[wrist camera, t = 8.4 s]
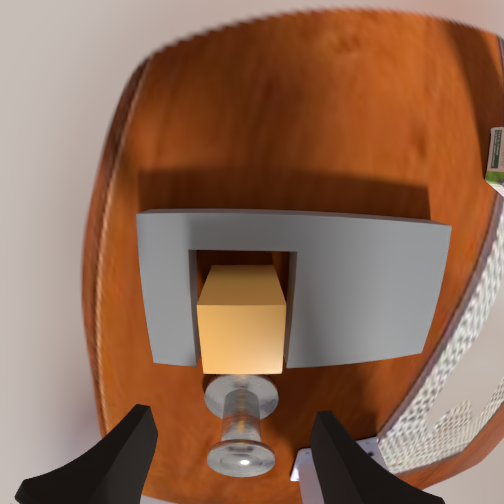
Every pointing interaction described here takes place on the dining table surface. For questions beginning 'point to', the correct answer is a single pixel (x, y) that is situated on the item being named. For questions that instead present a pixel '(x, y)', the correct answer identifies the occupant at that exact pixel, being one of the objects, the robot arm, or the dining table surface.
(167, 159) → the dining table surface
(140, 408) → the robot arm
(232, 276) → the tab block
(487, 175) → the syrup box
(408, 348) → the board
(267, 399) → the bobbin post
